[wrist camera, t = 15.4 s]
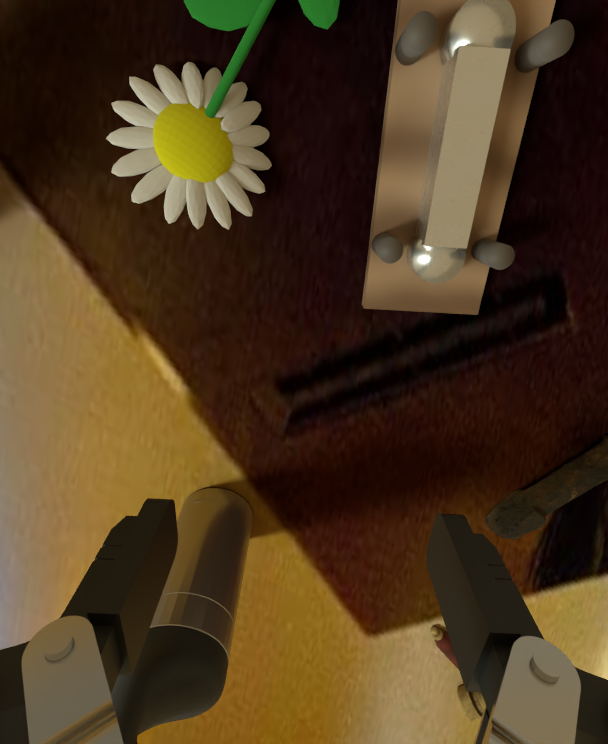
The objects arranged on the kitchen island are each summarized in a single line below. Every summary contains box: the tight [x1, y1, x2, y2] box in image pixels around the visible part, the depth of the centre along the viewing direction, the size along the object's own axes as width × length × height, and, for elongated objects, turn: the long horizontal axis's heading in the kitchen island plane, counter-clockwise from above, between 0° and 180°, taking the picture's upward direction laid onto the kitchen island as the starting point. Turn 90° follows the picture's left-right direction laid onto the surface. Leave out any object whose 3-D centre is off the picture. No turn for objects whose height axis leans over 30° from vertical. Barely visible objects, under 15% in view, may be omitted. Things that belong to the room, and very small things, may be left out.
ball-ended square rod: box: [407, 0, 516, 284], centre depth 31 cm, size 4×19×4 cm, turn 177°
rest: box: [362, 0, 574, 315], centre depth 32 cm, size 26×11×6 cm, turn 177°
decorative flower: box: [106, 0, 340, 230], centre depth 29 cm, size 13×5×30 cm
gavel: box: [431, 627, 486, 721], centre depth 63 cm, size 21×5×10 cm
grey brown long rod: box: [485, 435, 608, 540], centre depth 47 cm, size 19×4×5 cm, turn 132°
